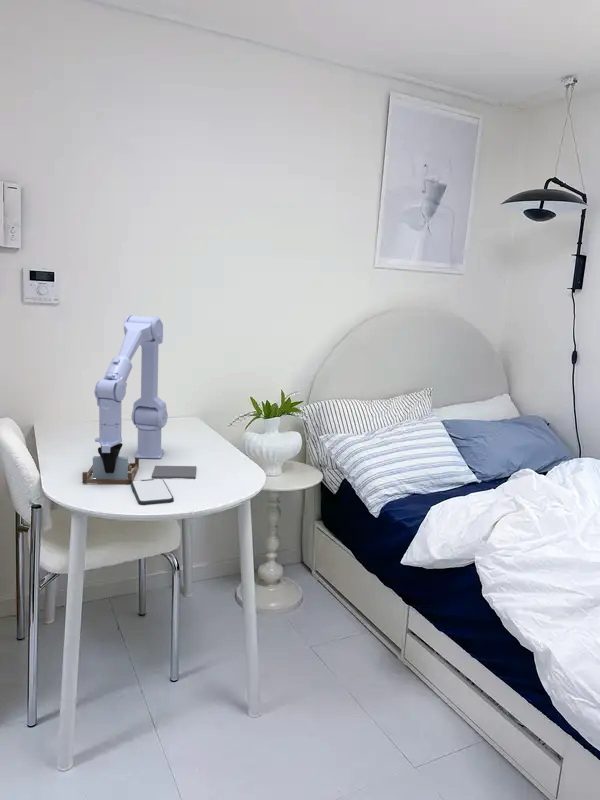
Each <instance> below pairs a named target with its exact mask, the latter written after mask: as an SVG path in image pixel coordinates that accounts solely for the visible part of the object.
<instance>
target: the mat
mask: <svg viewBox="0 0 600 800" xmlns="http://www.w3.org/2000/svg"><path fill="white" fill-rule="evenodd" d="M196 477H197V465H154V468H153V471H152V474H151V479H172V478H185V480H186V478H187V480H188V479H193V480H194V479H196Z"/></svg>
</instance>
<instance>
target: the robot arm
mask: <svg viewBox="0 0 600 800" xmlns="http://www.w3.org/2000/svg"><path fill="white" fill-rule="evenodd" d="M123 332H124V338H123V341H122V345H121V347H120V350H119V352H118V355H117V356H114V357H113V358H112V359H111V361H110V364H109V366H108V368H107V370H106V372H105V373H104V376H103V377H102V378H101V379H99V380H98V381H97V382H96V384H95V387H94V390H93V391H94V393H93V394H94V396H95V399H96V405H97V406H98V419H99V420H98V423H99V424H98V429H99V436H98V437H95V438H94V442H96V443H99V444H100V447H99V446H98V448H97V452H98V454H99V456H101V458H102V461H103V465H104V469H105V472H106V473H114V470H115V464H116V458H117V456H119V455H120V452H121V449H122V447H123V446H124V445H123V438H122V401H123V400H124V399H125V397H126V393H127V385H128V384H127V380H128V378H129V376H130V373H131V372H132V368H133V364H132V362H131V361H132V359H133V358H134V356H135V354H136V352H137V350H138V349H139V347H140V348H141V359H140V360H141V365H140V367H141V369H140V370H141V371H140V372H141V374H140V379H141V380H140V397H139V398H138V399H136V400H135V401H134V402H133V406H132V407H133V408H132V411H131V421H132V424H133V425H134V426H135V429H137V451H136V453H135V455H134V458H135V457H139V459H162V457H163V453H164V451H165V450H164V448H162V429H163V428H165V426H166V425H167V423H168V418H169V417H168V416H169V415H168V411H167V403H166V402H165V401H164V400H163V399H162V398H160V397H159V396H158V395H159V392H158V390H159V389H158V388H159V345H160V344H163V340H164V338H163V337H164V323H163V322H162V320H161V318H160V317H158V316H155V317H154V316H141V315H131V314H129V315H127V316H126V318H125V319H124V322H123Z"/></svg>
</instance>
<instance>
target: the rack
mask: <svg viewBox="0 0 600 800" xmlns="http://www.w3.org/2000/svg"><path fill="white" fill-rule="evenodd" d="M139 462H140V458H139V457H135V456H134V462H129V463H130V466H132V470H131V472H130V471H128V478H127V479H93V478H91V477H90V476H93V474H92V473H93V464H92V465H91V466H90V467H89V469H88V471H83V472H82V473H81V474H82V475H81V476H82V483H97V484H96V485H131V482H132V481H135V480H134V479H135V477H136V475H137V472H138V470H139V469H140V468H139V467H140V463H139Z"/></svg>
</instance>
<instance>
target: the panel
mask: <svg viewBox="0 0 600 800" xmlns="http://www.w3.org/2000/svg"><path fill="white" fill-rule="evenodd" d="M128 463H129V456H121V455H120V456H119V455H118V456H117V458H116V464H115V470H114V473H106V472H105V469H104V465H103V461H102V458H101V456H100V455H94V456H93V457H92V465H93V474H92V479H93V478H96V479H128V472H129V471H128Z"/></svg>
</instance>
